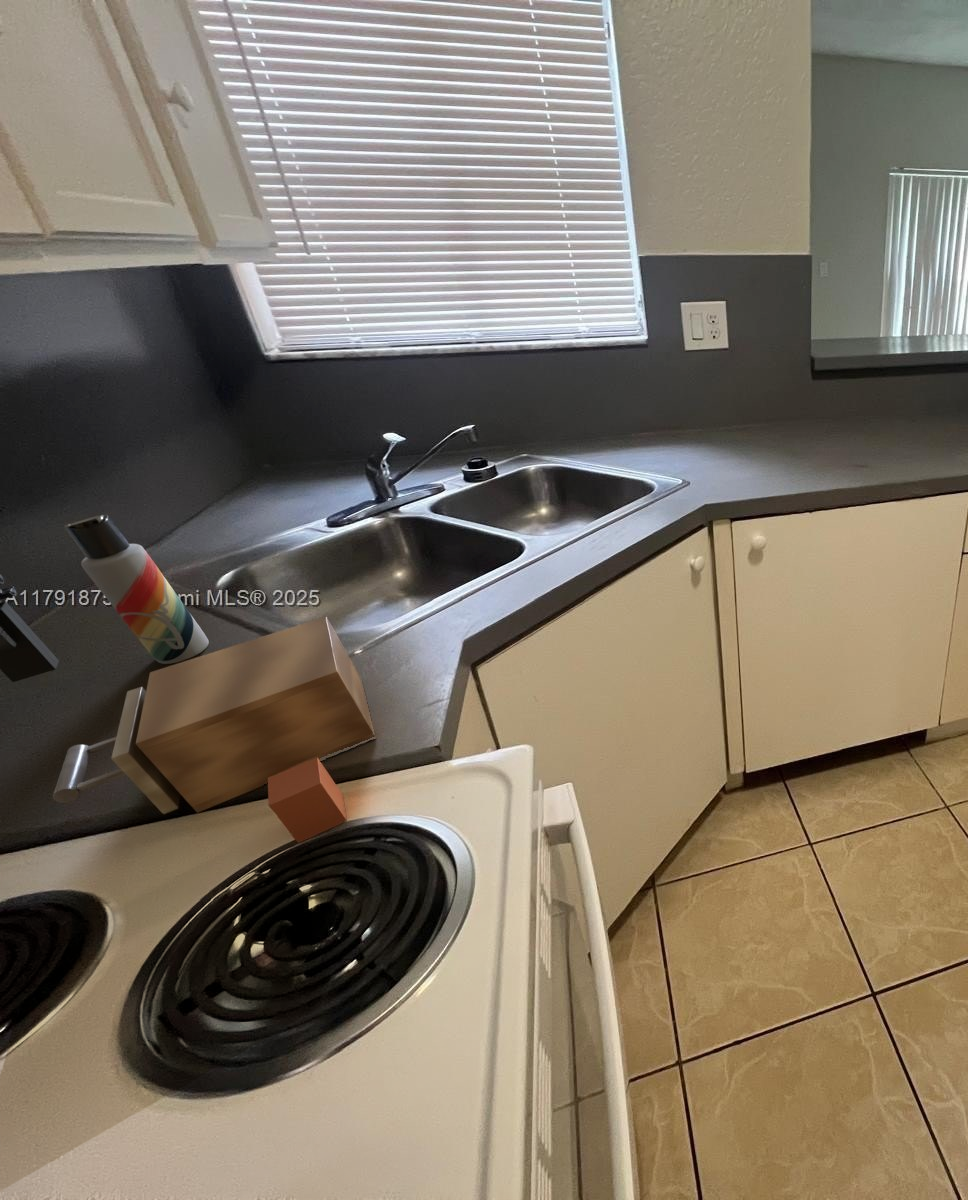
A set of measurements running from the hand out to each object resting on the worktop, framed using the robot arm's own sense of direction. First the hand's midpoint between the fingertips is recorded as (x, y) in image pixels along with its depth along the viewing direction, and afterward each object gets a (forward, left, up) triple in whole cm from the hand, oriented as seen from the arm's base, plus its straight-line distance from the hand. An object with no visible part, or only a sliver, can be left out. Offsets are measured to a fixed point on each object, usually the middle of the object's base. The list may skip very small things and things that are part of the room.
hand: (36, 671), depth 55 cm
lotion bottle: (-16, +25, -17) cm, 34 cm away
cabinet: (+10, +7, -16) cm, 20 cm away
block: (+20, -4, -16) cm, 26 cm away
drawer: (+5, +4, -15) cm, 17 cm away
